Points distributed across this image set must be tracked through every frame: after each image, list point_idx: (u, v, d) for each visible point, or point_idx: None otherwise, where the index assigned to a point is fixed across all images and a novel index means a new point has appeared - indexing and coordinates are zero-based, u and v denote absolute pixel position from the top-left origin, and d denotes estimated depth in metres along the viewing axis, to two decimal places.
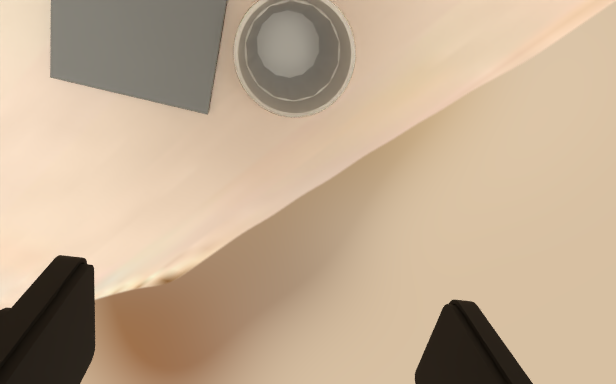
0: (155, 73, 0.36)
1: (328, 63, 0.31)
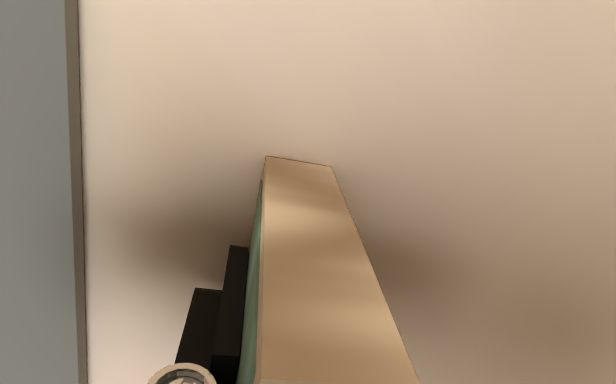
0: None
1: None
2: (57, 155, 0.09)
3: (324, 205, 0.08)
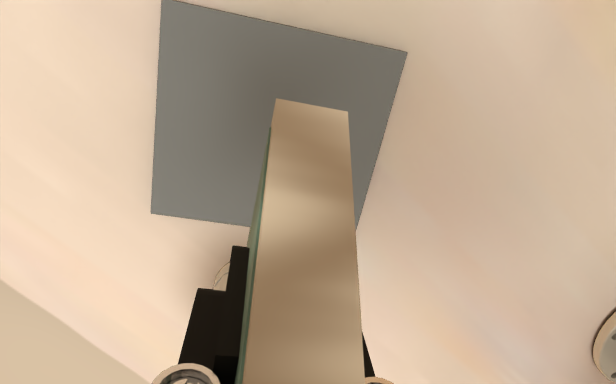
0: (195, 151, 0.26)
1: None
2: (387, 108, 0.26)
3: (328, 188, 0.08)
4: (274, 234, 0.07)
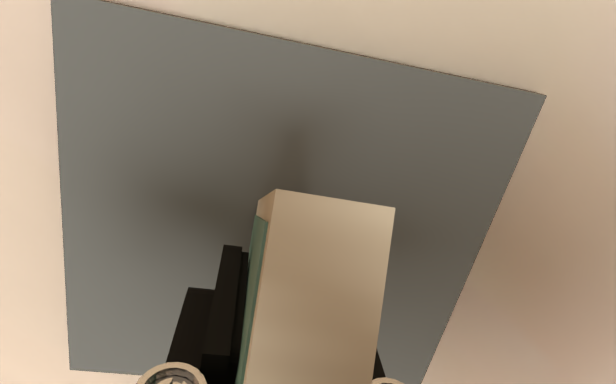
0: (142, 272, 0.14)
1: None
2: (496, 194, 0.14)
3: (336, 379, 0.06)
4: None
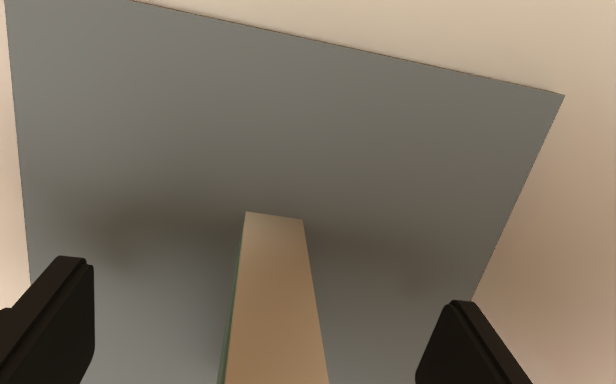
0: (118, 290, 0.13)
1: None
2: (507, 203, 0.13)
3: None
4: None
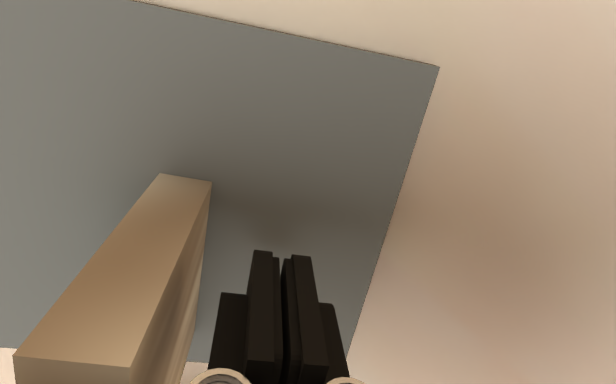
0: (49, 246, 0.14)
1: None
2: (399, 167, 0.14)
3: None
4: None
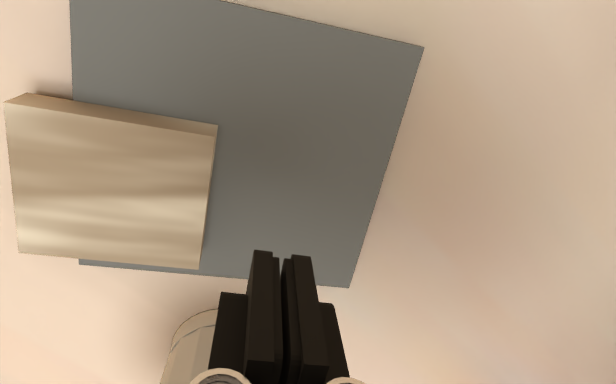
0: None
1: None
2: (395, 122, 0.19)
3: None
4: None
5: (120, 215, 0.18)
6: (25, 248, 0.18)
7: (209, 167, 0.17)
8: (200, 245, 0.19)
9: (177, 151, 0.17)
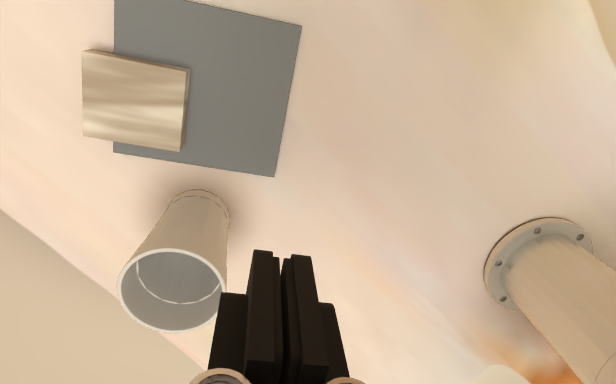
0: None
1: (180, 281, 0.35)
2: (290, 69, 0.34)
3: None
4: None
5: (137, 115, 0.33)
6: (86, 133, 0.33)
7: (184, 89, 0.33)
8: (180, 136, 0.34)
9: (167, 79, 0.32)
